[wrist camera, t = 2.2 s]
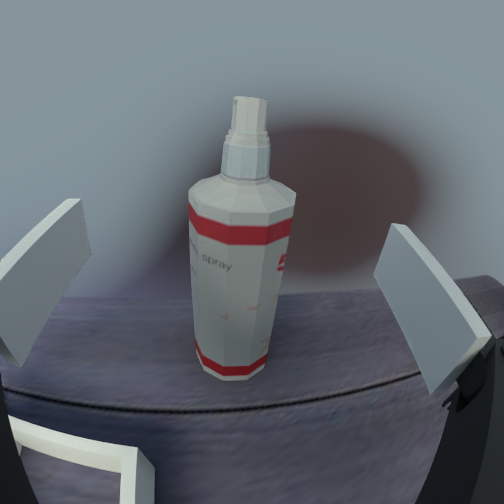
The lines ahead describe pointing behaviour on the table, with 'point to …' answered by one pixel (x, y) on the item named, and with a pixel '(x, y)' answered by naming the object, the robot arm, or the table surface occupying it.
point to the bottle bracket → (92, 457)
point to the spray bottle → (238, 249)
